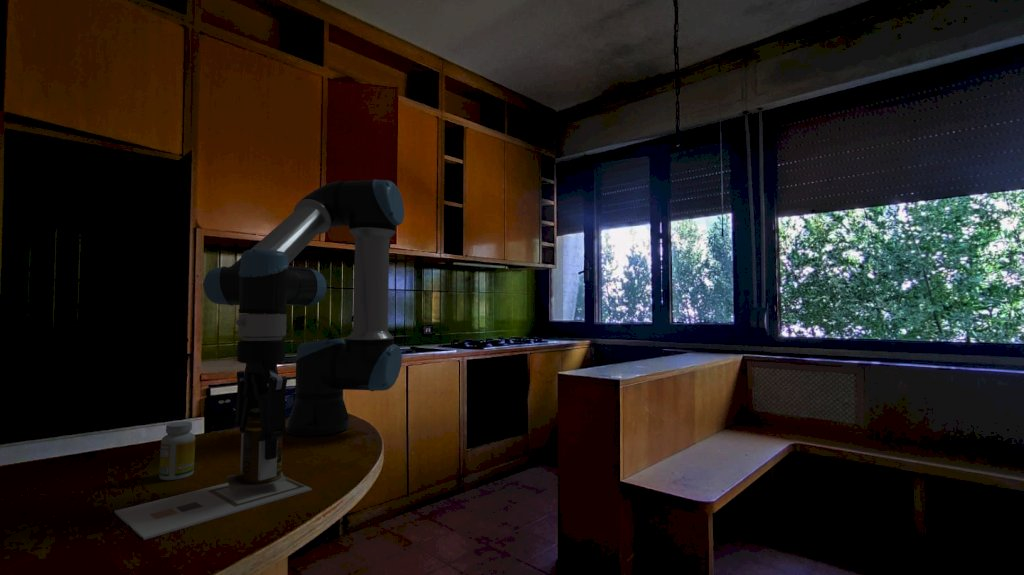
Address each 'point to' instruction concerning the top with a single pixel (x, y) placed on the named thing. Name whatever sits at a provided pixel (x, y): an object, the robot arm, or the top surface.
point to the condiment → (255, 456)
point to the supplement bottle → (177, 452)
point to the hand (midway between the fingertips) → (258, 473)
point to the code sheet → (202, 506)
